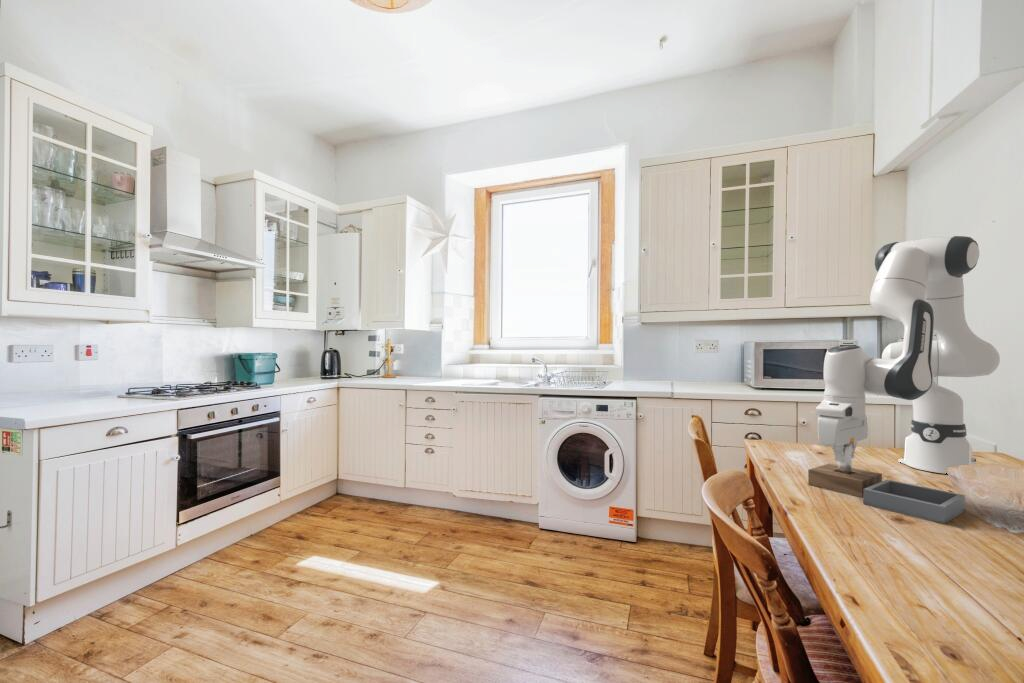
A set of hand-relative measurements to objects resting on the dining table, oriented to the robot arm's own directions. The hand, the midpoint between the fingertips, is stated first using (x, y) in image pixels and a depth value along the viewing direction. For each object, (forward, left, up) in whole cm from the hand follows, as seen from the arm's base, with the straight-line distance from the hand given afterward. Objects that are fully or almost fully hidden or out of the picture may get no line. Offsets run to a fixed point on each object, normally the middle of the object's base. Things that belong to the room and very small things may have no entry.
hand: (844, 459), depth 117 cm
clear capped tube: (0, 0, -7) cm, 7 cm away
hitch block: (0, 0, -7) cm, 7 cm away
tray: (+4, +15, -7) cm, 17 cm away
